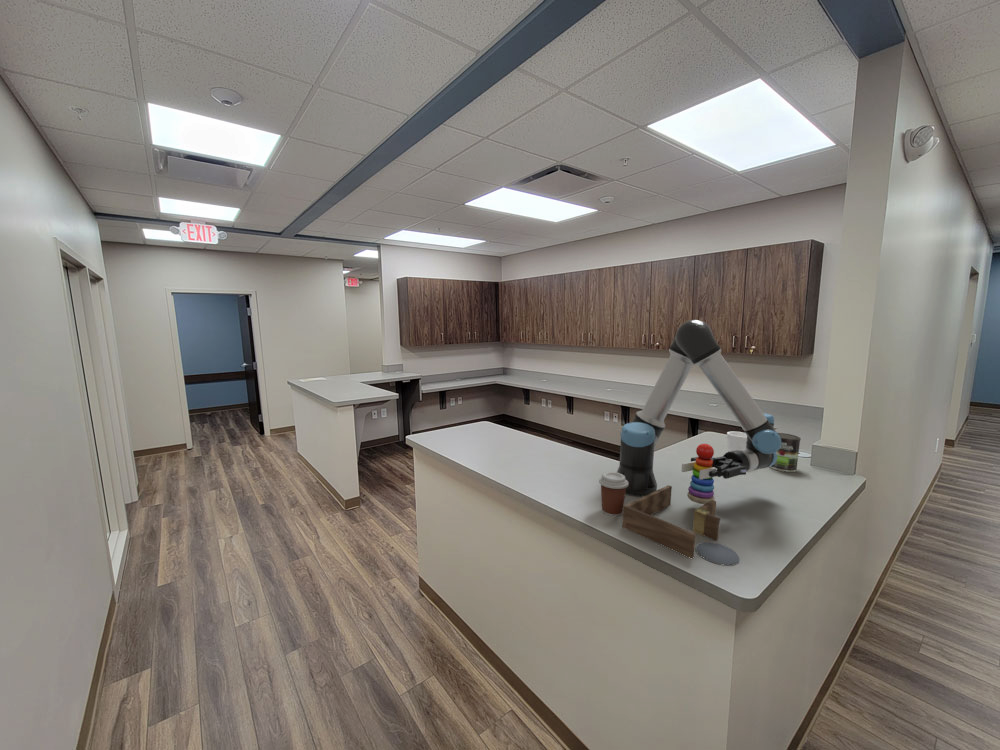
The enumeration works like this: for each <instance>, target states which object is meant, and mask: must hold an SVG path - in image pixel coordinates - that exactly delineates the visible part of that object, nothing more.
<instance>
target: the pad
mask: <svg viewBox="0 0 1000 750" xmlns="http://www.w3.org/2000/svg"><path fill="white" fill-rule="evenodd" d="M695 550H696V551H695V552H696V553H697V552H698V553H697V554H698V556H699V557H701V556H702V557H701V558H703V557H704V558H705V559H704V558H703V559H704V560H706V559H707V560H706V561H708V560H709V561H708V562H710V561H711V562H710V563H713V562H714V564H716V563H717V565H720V564H724V565H723V566H734V565H733V564H735V565H737V564H738V563H739V562H740V555H738V553H737V552H736V551H734V549H732V548H730V547H728V546H725V544H724V545H723V544H720V543H716V542H709V541H706V542H705V541H703V542H700V543H698V544H697V545H695ZM736 563H737V564H736Z"/></svg>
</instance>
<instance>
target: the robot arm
mask: <svg viewBox="0 0 1000 750" xmlns="http://www.w3.org/2000/svg"><path fill="white" fill-rule="evenodd" d="M668 351H669V355H670V356H669V357H668V359H667V361H666V363H665V365H664V367H663V370H662V371H661V373H660V374H659V377H658V378H657V381H656V383H654V384H655V385H654V387H653V389H652V391H651V393H650V395H649V396H648V398H647V401H646V403H644V406H643V408H642V409H641V410H638V411H636V412H635V415H634V417H633V419H632V421H631V422H630V423H629V422H628V423H625V424H624V425H623V426H622V427H621V431H620V450H619V464H618V465H619V466H618V468H617V471H616V473H620V474H622V475H624V476H625V479H626V480H627V481H628V483H629V485H628V487H626V491H625V495H629V496H634V497H644V496H646V495H648V494H650V493H652V492H655V491H657V490H658V483H657V480H656V477H655V473H654V458H655V457H654V456H655V448H656V446H657V445H656V444H657V443H658V442H659V440H660V437H661V435H662V433H663V432H664V429H665V428H666V424H665V418H666V417H667V415H668V413H669V411H670V410H671V408H672V405H673V403H674V402H675V400H676V398H677V396H678V395H679V392H680V391H681V389H682V387H683V385H684V383H685V381H686V379H687V377H688V376H689V374H690V372H691V370H692V368H693V366H697V367H699V368H700V370H701V371H702V373H703V374H704V376H705V377H706V379H707V380H708V382H709V383H710V384H711V385H712V387H713V389H714V390H715V391H716V393H717V394H718V395H719V397H720V398H721V400H722V401H723V403H724V404H725V406H726V407H727V408H728V410H729V411H730V413H731V414H732V416H733V417H734V418H735V419H736V421H737V423H738V424H739V426H740V427H741V428H742V430H743V431H744V433H746V434H747V441H746V449H740V450H736V451H730V452H728V451H727V452H725V453H724V454H723V456H719V457H718V456H717V457H714V456H713V457H712V458H710V459H711V460H712V461H713V464H712V465H711V466H712V468H708V469H703V470H700V473H699V479H706V478H710V477H713V478H714V477H718V478H721V477H722V478H723V479H731V478H734V477H738V476H741V475H742V476H743V475H744V476H745V475H747V472H750V471H755V470H756V471H757V470H761V469H766V468H767V469H768V468H770V466H772V465H774V464H775V463H776V461H777V454H776V452H777V451H778V450H779V449H780V447H781V444H782V442H781V437H780V436H779V434H778V433H779V432H777V431H776V429H775V428H774V425H775V417H774V415H772V414H768V413H765V412H763V411H762V409H761V408H760V407H759V405H758V404H757V402H755V400H754V398H753V397H752V396H751V394H750V393H749V392H748V390H747V389H746V387H745V385H743V383H742V382H741V380H740V379H739V377H738V376H737V375H736V373H735V372H734V370H733V368H732V367H731V366H730V365H729V363H728V362H727V361H726V359H725V358H724V356H723V355H722V347H721V346H720V345H719V343H718V341H717V340H716V338H715V336H714V334H713V330H712V329H711V327H710V325H708V323H706V322H705V321H702V320H700V319H699V320H698V319H690V320H687V321H685V322H684V323H682V324H681V325H679V327H678V328H677V330H676V332H675V336H674V337H673V340H672V342H671V344H670V346H669V348H668ZM698 457H699V456H694V457H690V461H687V462H681V472H682V473H686V472H690V471H692V472H693V470H694V464H696V461H695V460H696V458H698Z"/></svg>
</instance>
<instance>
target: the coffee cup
mask: <svg viewBox="0 0 1000 750" xmlns="http://www.w3.org/2000/svg"><path fill="white" fill-rule="evenodd" d="M598 483H599V484H600V492H601V493H600V494H601V495H600V497H601V512H602V513H603V514H604V515H605V516H606V515H607V516H610V517H620V516H623V506H624V504H625V498H626V494H625V491H626V487H628V485H629V483H628V481H627V480H626V479H625V476H624V475H622V474H620V473H617V471H616V472H615V471H606V472H603V474H602V475H601V476H600V477H599V478H598Z"/></svg>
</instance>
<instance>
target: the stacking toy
mask: <svg viewBox="0 0 1000 750" xmlns="http://www.w3.org/2000/svg"><path fill="white" fill-rule="evenodd" d="M695 450H696V451H695V452H696V455H697V457H698V458H696V460H695V461H696V464H694V470H692V475H691V478H690V479H691V481H690V483H689V486H688V488H687V490H688V491H687V498H688V499H689V500H690V501H691V502H693V503H696V504H701V505H704V504H706V503H708V502H709V501H711V500H714V501H716V499H715V491H714V489H715V486H714V482H715V479H714V477H710V478H706V479H699V473H700V470H703V469H708V468H713V467H712V466H711V465H712V464H713V461H712V460H711V459H710V458H712V457H713V458H714V454H715V450H714V448H713V446H711V445H710V444H708V443H700V444H699V445H697V447H696V449H695Z"/></svg>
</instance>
